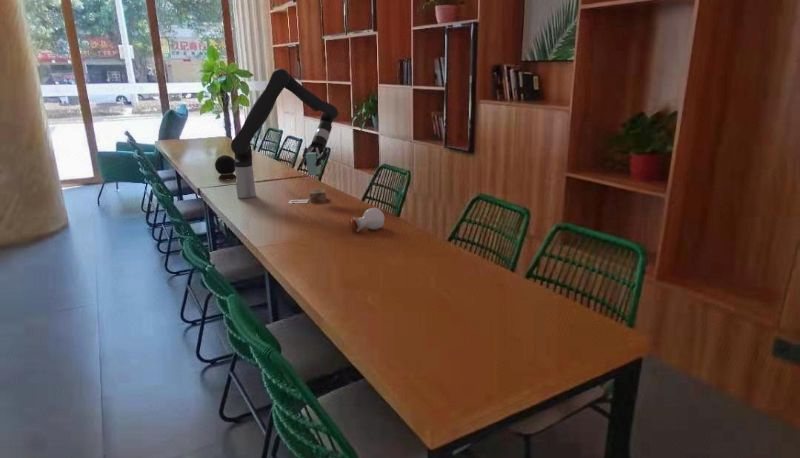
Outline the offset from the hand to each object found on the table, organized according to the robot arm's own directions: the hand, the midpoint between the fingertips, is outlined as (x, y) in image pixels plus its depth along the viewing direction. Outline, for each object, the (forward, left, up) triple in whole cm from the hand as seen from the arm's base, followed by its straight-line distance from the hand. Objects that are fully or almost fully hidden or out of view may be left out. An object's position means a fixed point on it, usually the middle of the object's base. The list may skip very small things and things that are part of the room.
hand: (310, 165), depth 269 cm
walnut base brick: (+2, +1, -19) cm, 19 cm away
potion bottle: (+31, -55, -19) cm, 66 cm away
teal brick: (+1, +2, -5) cm, 5 cm away
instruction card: (-8, -1, -19) cm, 20 cm away
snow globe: (-66, +69, -19) cm, 97 cm away
